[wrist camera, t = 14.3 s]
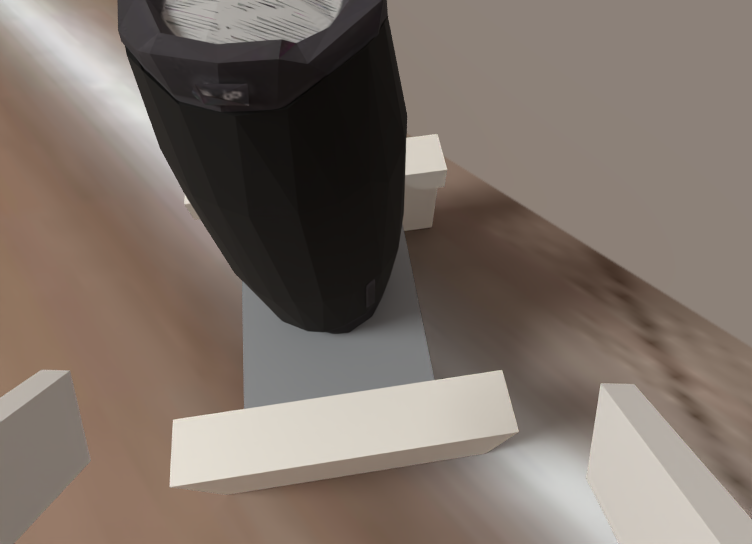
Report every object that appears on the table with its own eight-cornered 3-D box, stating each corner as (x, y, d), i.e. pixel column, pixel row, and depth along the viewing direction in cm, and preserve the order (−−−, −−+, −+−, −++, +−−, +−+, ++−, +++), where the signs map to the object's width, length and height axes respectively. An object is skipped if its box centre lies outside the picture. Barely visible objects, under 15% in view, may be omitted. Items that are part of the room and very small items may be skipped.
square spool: (485, 453, 35) (519, 431, 26) (227, 494, 34) (169, 487, 25) (427, 209, 45) (437, 134, 36) (227, 236, 44) (186, 166, 35)
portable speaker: (240, 252, 32) (61, -73, 14) (371, 208, 33) (351, -136, 16) (275, 368, 28) (89, 119, 10) (421, 313, 29) (468, 13, 12)
